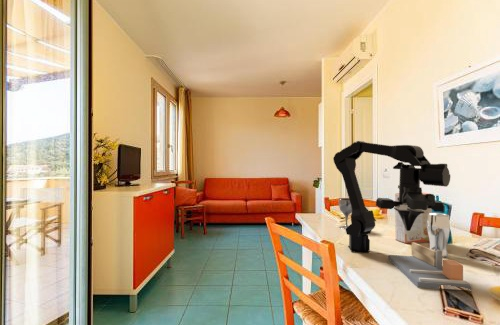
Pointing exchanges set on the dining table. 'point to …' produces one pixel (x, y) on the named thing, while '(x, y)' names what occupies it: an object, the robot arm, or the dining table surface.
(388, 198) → the robot arm
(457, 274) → the fader
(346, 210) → the wine glass
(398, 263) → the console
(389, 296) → the dining table surface
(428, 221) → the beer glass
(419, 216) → the cracker box
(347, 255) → the dining table surface
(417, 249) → the two-tone tan block
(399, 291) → the dining table surface
